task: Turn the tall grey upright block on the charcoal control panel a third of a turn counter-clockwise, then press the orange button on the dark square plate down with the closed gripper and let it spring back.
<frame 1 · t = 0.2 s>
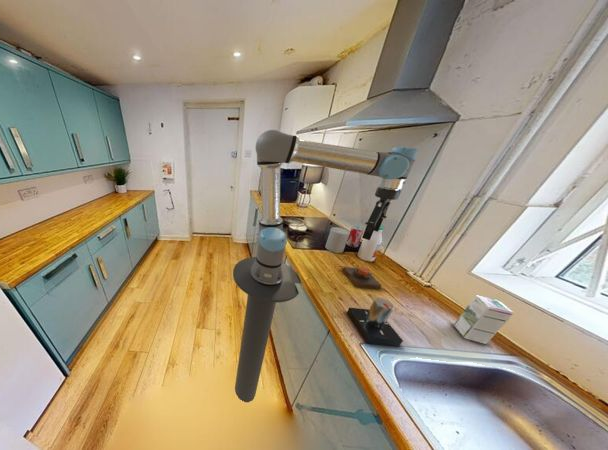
hand: (370, 234, 89), 22 cm above the counter, tool pointing down, fingers open, 13 cm apart
dispense button: (363, 271, 91), point 5 cm above the counter, slide at 0.1 cm
control panel: (370, 328, 69), on the counter
milk bottle: (365, 258, 110), on the counter
grey cylinder: (334, 249, 119), on the counter
dark square plate: (359, 279, 93), on the counter
soda can: (351, 245, 123), on the counter
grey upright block: (379, 312, 66), point 8 cm above the counter, hinge at 0.0°
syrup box: (468, 334, 68), on the counter
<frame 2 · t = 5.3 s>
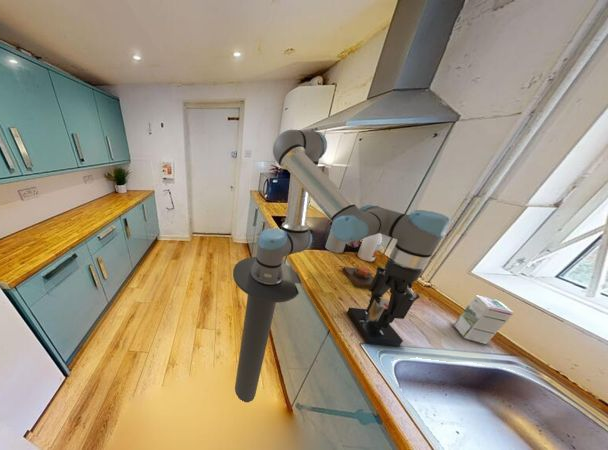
hand: (375, 319, 67), 5 cm above the counter, tool pointing down, fingers closed on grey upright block, 5 cm apart
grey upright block: (379, 312, 66), point 8 cm above the counter, hinge at 0.0°, touching gripper
everything else where it was.
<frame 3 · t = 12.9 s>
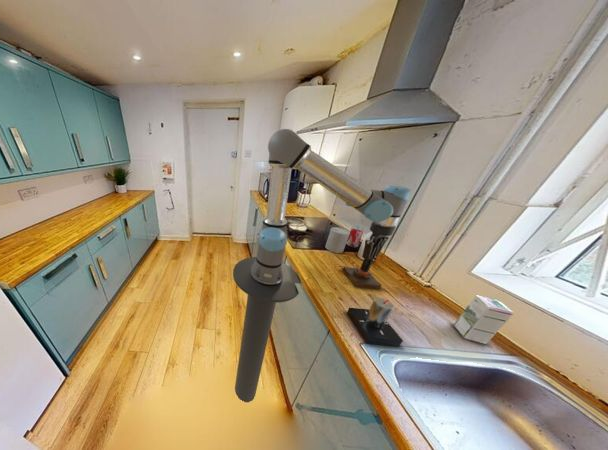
hand: (364, 270, 91), 5 cm above the counter, tool pointing down, fingers closed
dispense button: (362, 272, 92), point 4 cm above the counter, slide at -0.5 cm, touching gripper
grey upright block: (379, 312, 66), point 8 cm above the counter, hinge at 120.5°
everything else where it was.
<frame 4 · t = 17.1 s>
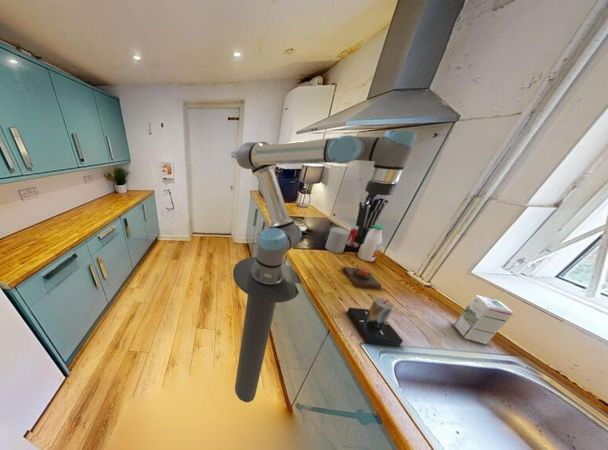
hand: (358, 242, 75), 24 cm above the counter, tool pointing down, fingers closed
dispense button: (363, 271, 91), point 5 cm above the counter, slide at 0.1 cm
everything else where it was.
at the end: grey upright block at +120° (first picture: +0°); dispense button pushed in 1.0 cm at the most during the clip, back to where it started at the end; dispense button slide at 0.1 cm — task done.
